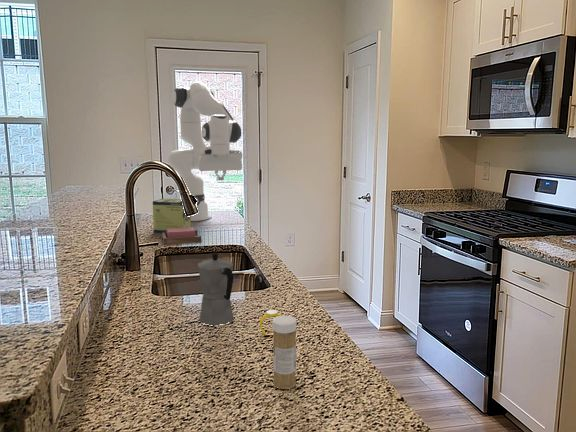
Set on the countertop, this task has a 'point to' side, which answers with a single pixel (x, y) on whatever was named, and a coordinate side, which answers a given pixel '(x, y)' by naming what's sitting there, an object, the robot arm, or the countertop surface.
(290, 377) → the sprinkles bottle
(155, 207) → the protein box
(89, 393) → the countertop surface
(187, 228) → the carton
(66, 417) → the countertop surface
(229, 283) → the coffeepot
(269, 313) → the watch
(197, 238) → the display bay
